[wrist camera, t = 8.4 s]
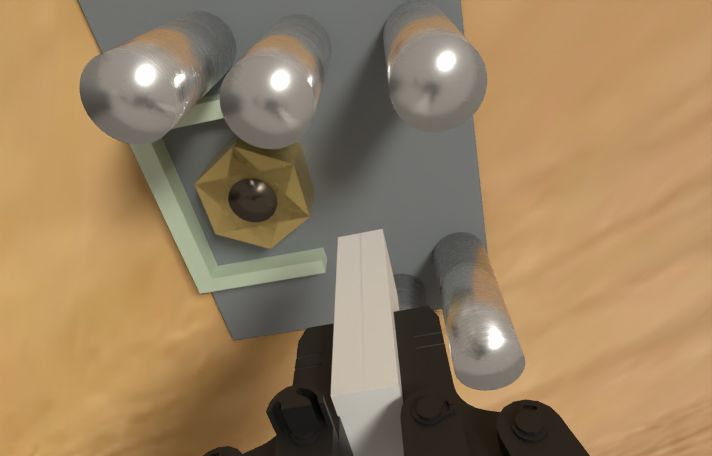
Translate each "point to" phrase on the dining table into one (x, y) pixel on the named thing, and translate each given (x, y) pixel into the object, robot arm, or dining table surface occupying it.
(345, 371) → the robot arm
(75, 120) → the dining table surface
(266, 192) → the nut
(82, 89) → the spacer posts
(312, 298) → the mat
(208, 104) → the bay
